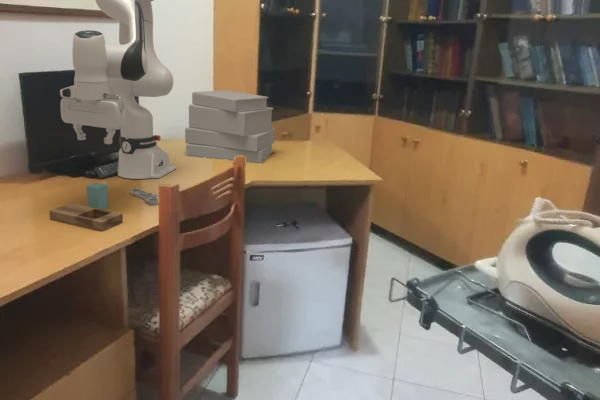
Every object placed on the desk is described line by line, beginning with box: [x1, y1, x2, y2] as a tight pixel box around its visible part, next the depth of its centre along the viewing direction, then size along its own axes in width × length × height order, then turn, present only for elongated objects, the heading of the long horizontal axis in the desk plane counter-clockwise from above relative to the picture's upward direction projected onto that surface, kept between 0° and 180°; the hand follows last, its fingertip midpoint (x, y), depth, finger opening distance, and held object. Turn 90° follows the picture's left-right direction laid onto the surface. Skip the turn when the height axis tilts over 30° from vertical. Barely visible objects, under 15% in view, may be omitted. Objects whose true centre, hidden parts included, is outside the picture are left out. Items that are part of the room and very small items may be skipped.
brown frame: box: [48, 202, 124, 232], centre depth 148 cm, size 8×18×2 cm, turn 67°
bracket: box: [129, 188, 159, 206], centre depth 170 cm, size 8×2×15 cm
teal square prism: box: [85, 182, 109, 210], centre depth 158 cm, size 4×4×7 cm
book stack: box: [184, 89, 277, 164], centre depth 231 cm, size 30×35×26 cm
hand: (94, 141), depth 153 cm, fingers open, 8 cm apart
